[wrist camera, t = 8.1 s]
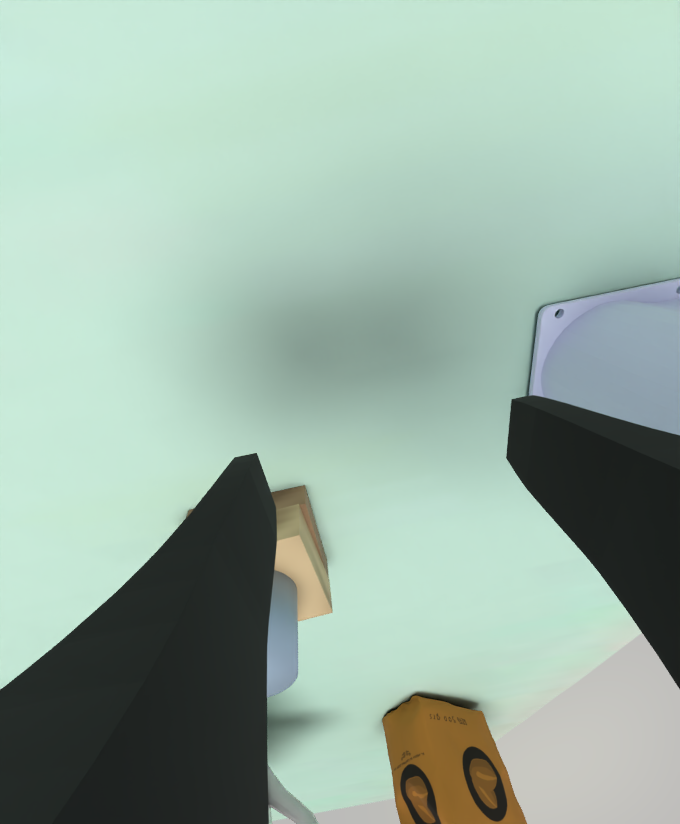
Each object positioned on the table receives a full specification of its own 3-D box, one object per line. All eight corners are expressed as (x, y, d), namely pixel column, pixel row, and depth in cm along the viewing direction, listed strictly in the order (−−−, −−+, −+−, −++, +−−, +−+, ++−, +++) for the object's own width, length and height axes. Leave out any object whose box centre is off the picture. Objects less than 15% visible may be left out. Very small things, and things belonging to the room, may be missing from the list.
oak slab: (298, 504, 21) (299, 535, 19) (329, 579, 25) (332, 612, 23) (177, 535, 21) (164, 570, 19) (226, 606, 25) (219, 641, 23)
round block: (289, 561, 20) (287, 642, 16) (303, 610, 23) (305, 690, 19) (205, 576, 20) (183, 661, 16) (228, 624, 22) (214, 708, 18)
